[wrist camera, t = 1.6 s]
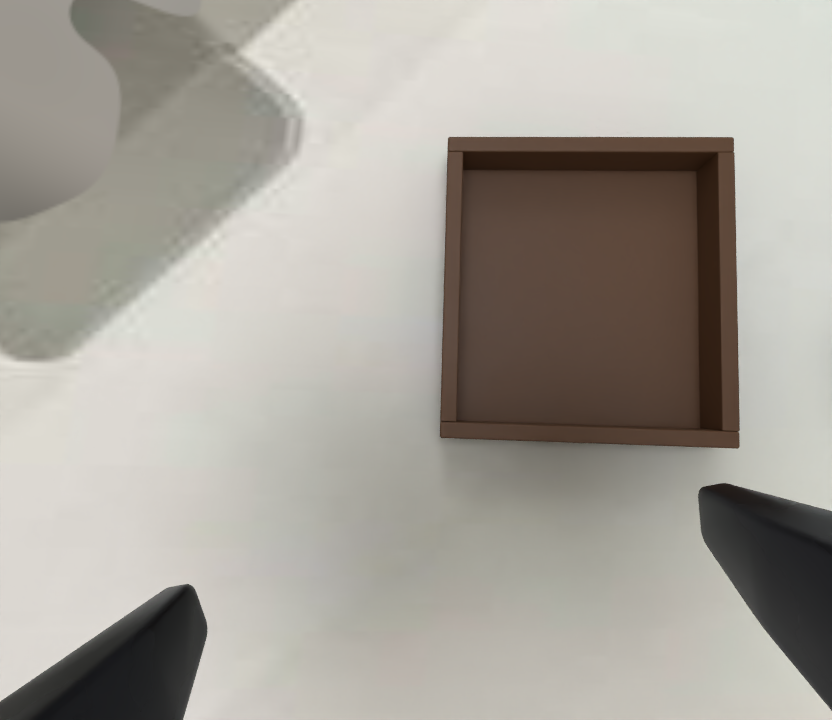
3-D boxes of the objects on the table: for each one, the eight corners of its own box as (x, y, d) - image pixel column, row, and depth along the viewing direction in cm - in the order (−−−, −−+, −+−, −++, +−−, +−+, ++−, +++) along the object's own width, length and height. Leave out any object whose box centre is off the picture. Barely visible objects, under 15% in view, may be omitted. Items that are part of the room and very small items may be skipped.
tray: (709, 443, 22) (740, 448, 20) (440, 433, 23) (439, 437, 21) (705, 162, 23) (734, 136, 21) (447, 161, 24) (448, 136, 22)
